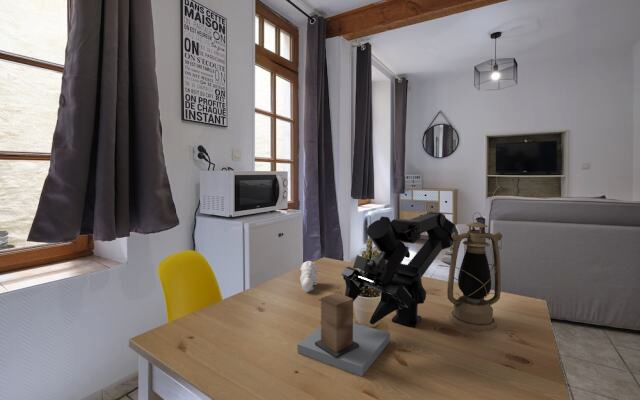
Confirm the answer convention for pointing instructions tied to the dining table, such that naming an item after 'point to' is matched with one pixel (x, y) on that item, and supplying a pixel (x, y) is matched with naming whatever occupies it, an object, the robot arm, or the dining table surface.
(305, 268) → the white lumpy upright piece
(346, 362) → the slate board
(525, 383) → the dining table surface
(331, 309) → the walnut peg
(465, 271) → the lantern
